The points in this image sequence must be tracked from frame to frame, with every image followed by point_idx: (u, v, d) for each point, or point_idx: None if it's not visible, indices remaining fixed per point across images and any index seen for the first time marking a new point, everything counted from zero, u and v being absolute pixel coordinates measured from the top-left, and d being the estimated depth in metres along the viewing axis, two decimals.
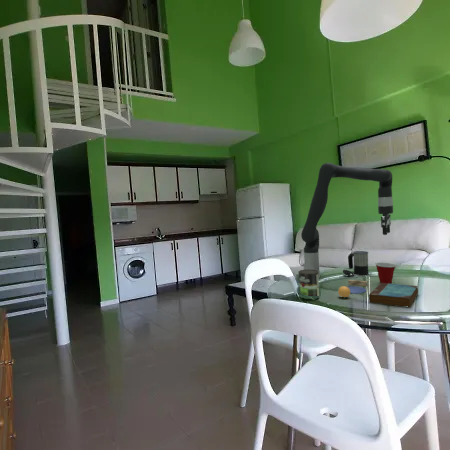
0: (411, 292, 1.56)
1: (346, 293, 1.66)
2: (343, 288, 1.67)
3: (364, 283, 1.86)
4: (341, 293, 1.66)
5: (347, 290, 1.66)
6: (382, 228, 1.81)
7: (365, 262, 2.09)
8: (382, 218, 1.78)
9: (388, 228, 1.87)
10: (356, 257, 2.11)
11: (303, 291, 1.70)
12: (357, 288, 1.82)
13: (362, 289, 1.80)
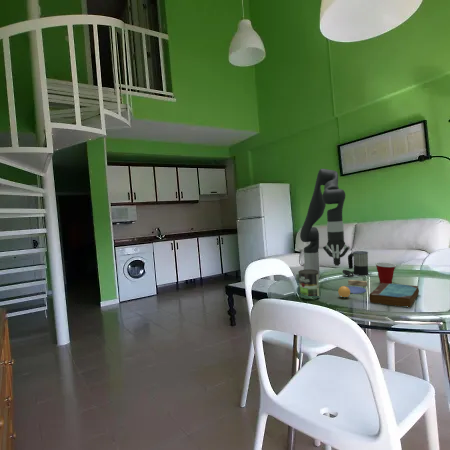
0: (412, 292, 1.55)
1: (346, 293, 1.66)
2: (343, 288, 1.67)
3: (364, 283, 1.86)
4: (341, 293, 1.66)
5: (347, 290, 1.66)
6: None
7: (365, 262, 2.09)
8: None
9: None
10: (356, 257, 2.11)
11: (303, 291, 1.70)
12: (357, 288, 1.82)
13: (362, 289, 1.80)
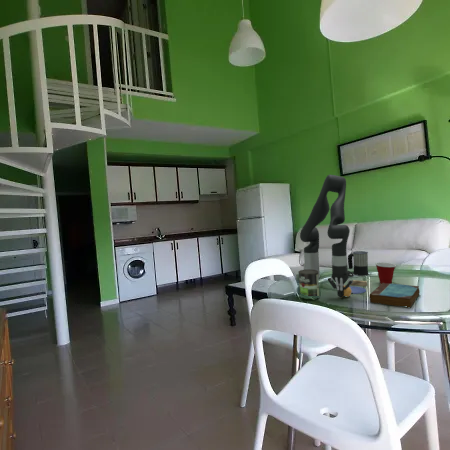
0: (412, 292, 1.55)
1: (347, 291, 1.67)
2: None
3: (364, 283, 1.86)
4: None
5: (348, 288, 1.68)
6: None
7: (365, 262, 2.09)
8: None
9: None
10: (356, 257, 2.11)
11: (303, 291, 1.70)
12: (357, 288, 1.82)
13: (362, 289, 1.80)
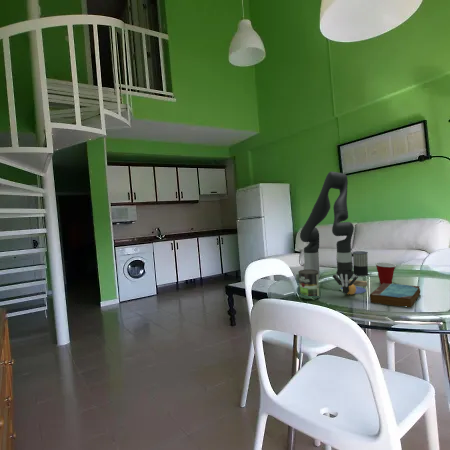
0: (413, 292, 1.55)
1: (354, 286, 1.71)
2: None
3: (364, 283, 1.86)
4: None
5: (355, 287, 1.72)
6: None
7: (364, 262, 2.09)
8: None
9: None
10: (355, 257, 2.10)
11: (303, 291, 1.70)
12: (357, 288, 1.82)
13: (362, 289, 1.80)
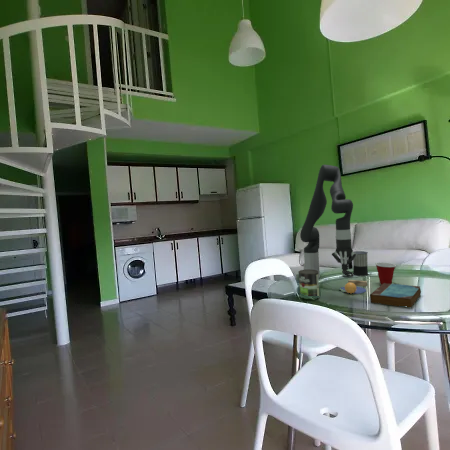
0: (413, 293, 1.55)
1: None
2: None
3: (364, 283, 1.86)
4: None
5: None
6: None
7: (364, 262, 2.09)
8: None
9: None
10: (355, 257, 2.10)
11: (303, 291, 1.70)
12: (357, 288, 1.82)
13: (362, 289, 1.80)
